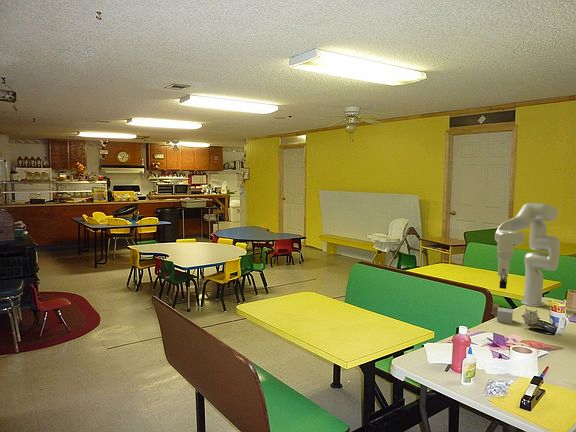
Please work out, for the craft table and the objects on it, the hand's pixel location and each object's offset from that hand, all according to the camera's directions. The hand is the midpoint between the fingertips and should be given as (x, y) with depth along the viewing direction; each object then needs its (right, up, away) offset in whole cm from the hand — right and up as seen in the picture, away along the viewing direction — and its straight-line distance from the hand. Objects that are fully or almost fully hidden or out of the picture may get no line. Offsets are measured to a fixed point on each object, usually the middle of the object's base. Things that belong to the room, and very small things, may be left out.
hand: (503, 286), depth 227 cm
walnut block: (0, -17, +10) cm, 20 cm away
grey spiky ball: (+10, -19, -8) cm, 23 cm away
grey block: (0, -18, -2) cm, 18 cm away
